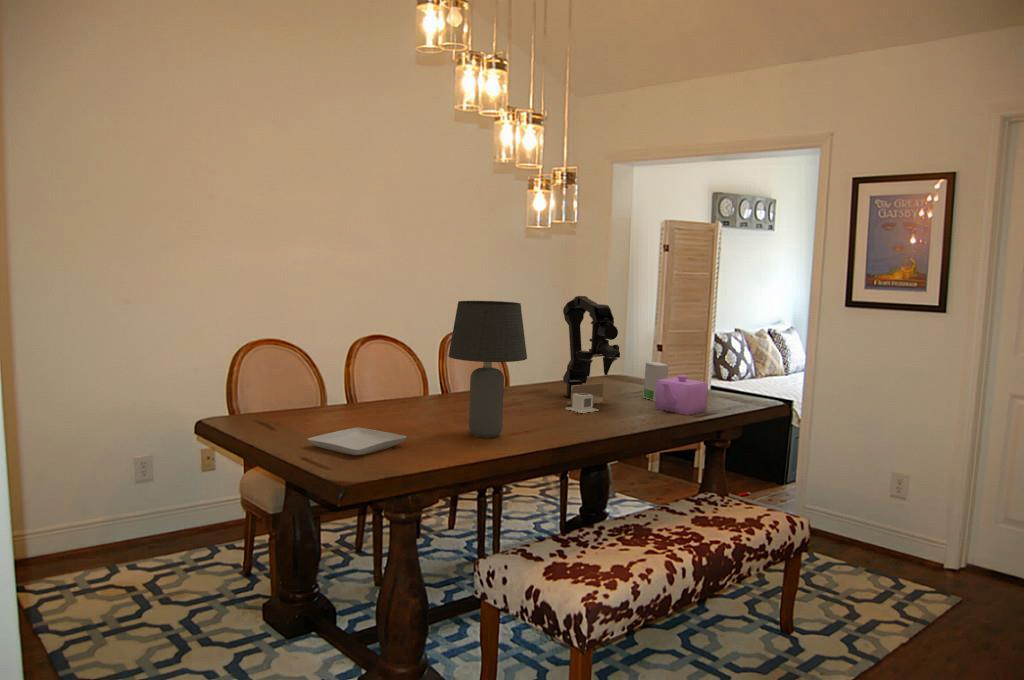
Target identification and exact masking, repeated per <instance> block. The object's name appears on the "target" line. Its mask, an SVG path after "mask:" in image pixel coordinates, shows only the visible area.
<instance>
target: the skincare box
mask: <svg viewBox="0 0 1024 680" xmlns="http://www.w3.org/2000/svg"><path fill="white" fill-rule="evenodd" d="M644 367H645V370H644V380H643V381H644V382H643V392H642V393H643V394H642V398H643V399H645V398H646V400H648V399H650V400H649V401H651V400H653V401H652V402H655V399H656V381H657V380H661V379H668V378H669V377H668V375H669V364H665V363H664V362H663V363H662V362H658V361H650V362H649V361H647V362H645V366H644Z"/></svg>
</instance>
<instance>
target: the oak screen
mask: <svg viewBox="0 0 1024 680" xmlns="http://www.w3.org/2000/svg"><path fill="white" fill-rule="evenodd" d="M576 393H586V394H591V395H593V404H595V403H596V404H602V403H603V398H604V397H603V396H604V383H603V382H596V383H595V382H593V383H582V385H572V386H571V398H570V401H568V402H567V406H571V405H572V400H573V394H576ZM601 402H602V403H601Z"/></svg>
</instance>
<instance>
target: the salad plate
mask: <svg viewBox="0 0 1024 680" xmlns="http://www.w3.org/2000/svg"><path fill="white" fill-rule="evenodd" d="M406 439H407V436H406V435H402V434H397V433H393V432H387V431H381V430H375V429H369V428H365V427H352V428H346V429H341V430H337V431H334V432H333V431H332V432H328V433H324V434H320V435H316V436H311V437H308V438H307V441H308V442H309V443H310V444H311V445H313V446H315V447H317V448H320V449H321V448H322V449H324V450H327V451H333V452H336V453H342V454H345V455H351V456H363V455H367V454H371V453H376V452H379V451H382V450H385V449H389V448H392V447H395V446H397V445H399V444H400V443H402V442H404V441H405V440H406Z"/></svg>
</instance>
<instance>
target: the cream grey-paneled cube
mask: <svg viewBox="0 0 1024 680" xmlns="http://www.w3.org/2000/svg"><path fill="white" fill-rule="evenodd" d="M593 406H594V405H593V395H591V394H586V393H576V394H573V400H572V406H571V407H572V408H574V409H578V410H589V409H592V408H594V407H593Z"/></svg>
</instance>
